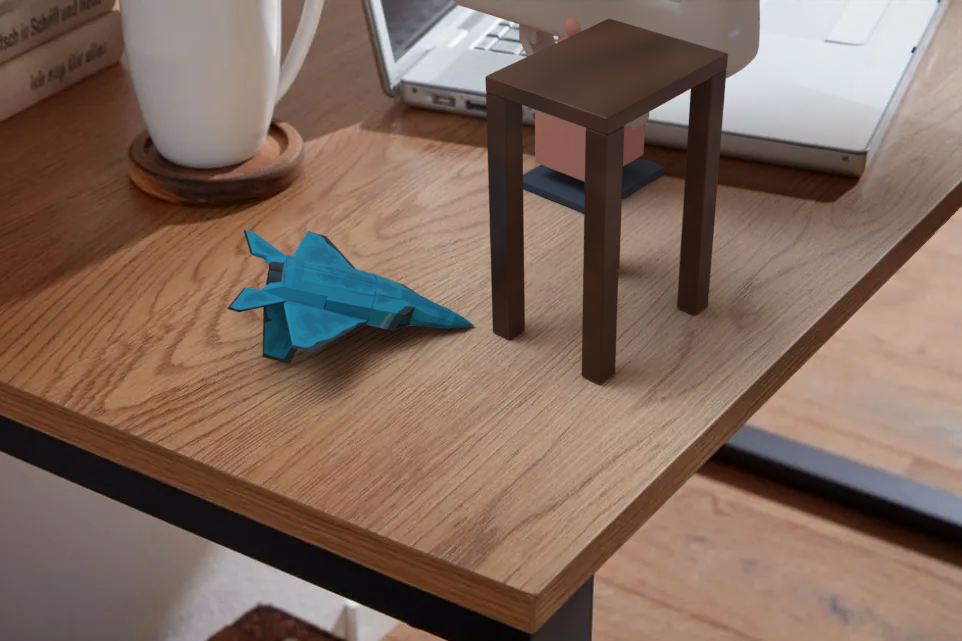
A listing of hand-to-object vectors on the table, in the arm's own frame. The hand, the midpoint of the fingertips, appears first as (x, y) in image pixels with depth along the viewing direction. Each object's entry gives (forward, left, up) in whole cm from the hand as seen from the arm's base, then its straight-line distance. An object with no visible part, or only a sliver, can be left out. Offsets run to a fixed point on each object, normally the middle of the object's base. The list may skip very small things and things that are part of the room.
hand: (590, 109), depth 79 cm
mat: (0, 0, -5) cm, 5 cm away
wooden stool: (-10, +11, -5) cm, 16 cm away
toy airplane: (-1, +21, -5) cm, 22 cm away
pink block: (0, 0, -3) cm, 3 cm away
